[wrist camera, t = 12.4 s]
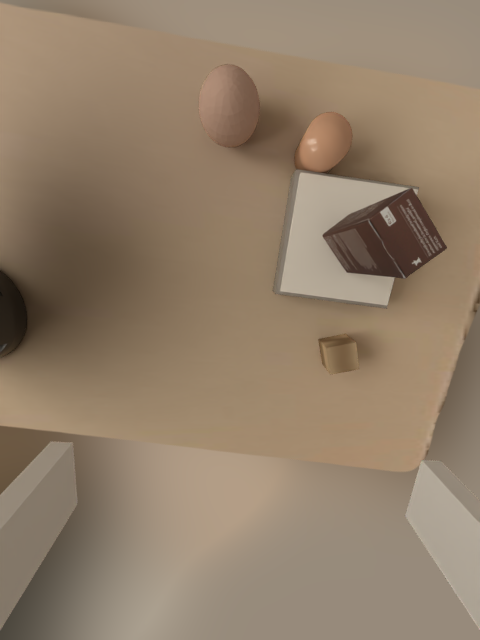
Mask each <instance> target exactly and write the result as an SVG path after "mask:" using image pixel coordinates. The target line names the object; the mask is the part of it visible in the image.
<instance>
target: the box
mask: <svg viewBox="0 0 480 640" xmlns="http://www.w3.org/2000/svg"><path fill="white" fill-rule="evenodd" d="M322 236H323V238H324V239H325V241H326V242H327V244H328V245H329V247H330V248H331V250H332V252H333V253H334V255H335V256H336V257H337V259H338V260H339V262H340V263H341V265H342V266H343V268H344V269H345V271H346V272H347V273H355V274H365V275H375V276H385V277H395V278H404V279H405V278H407V277H408V276H409V275H411V274H412V273H413V272H415V271H416V270H417V269H419V268H420V267H421V266H423V265H424V264H426V263H427V262H429V261H430V260H431V259H433V258H434V257H436V256H437V255H438V254H440V253H441V252H443V251H444V250H445V249H446V248H447V247H446V245H445V244H444V242H443V240H442V238H441V237H440V235H439V233H438V231H437V230H436V228H435V226H434V225H433V223H432V221H431V219H430V218H429V216H428V214H427V213H426V211H425V209H424V208H423V206H422V204H421V202H420V201H419V199H418V197H417V196H416V194H415V192H414V190H413V188H409V189H407V190H405V191H403V192H400V193H398V194H395V195H393V196H391V197H388V198H386V199H384V200H381V201H379V202H377V203H374V204H372V205H369V206H367V207H365V208H363V209H361V210H358V211H356V212H353V213H351V214H349V215H347V216H346V217H345V218H343V219H342V220H341V221H339V222H338V223H337V224H336V225H334V226H333V227H332V228H330V229H329V230H328V231H326V232H325V233H324V234H323V235H322Z"/></svg>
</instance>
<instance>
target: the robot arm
mask: <svg viewBox="0 0 480 640" xmlns="http://www.w3.org/2000/svg"><path fill="white" fill-rule="evenodd" d="M26 325H27V315H26V309H25V305H24V302H23V299H22V297H21V295H20V293H19V291H18V290H17V288H16V287H15V285H14V284H13V283H12V282H11V280H10V279H9V278H8V277H7V276H6V275H5V274H3V273H2V272H1V271H0V357H2V356H4V355H6V354H8V353H10V352H11V351H13V350H14V349H15V348H16V347H17V346H18V345H19V343H20V342H21V340H22V338H23V336H24V334H25V330H26ZM77 504H78V503H77V490H76V477H75V465H74V451H73V443H70V442H50V443H49V444H48V445H47V446H46V447H45V448H44V450H43V451H42V452H41V453H40V454H39V455H38V456H37V457H36V458H35V459H34V460H33V461H32V462H31V463H30V464H29V465H28V466H27V467H26V468H25V469H24V470H23V472H22V473H21V474H20V475H19V476H18V477H17V478H16V479H15V480H14V481H13V482H12V483H11V484H10V485H9V486H8V487H7V488H6V489H5V490H4V492H3V493H2V494H1V495H0V630H1V628H2V626H3V625H4V623H5V622H6V620H7V618H8V616H9V615H10V613H11V612H12V610H13V609H14V607H15V605H16V604H17V602H18V600H19V599H20V597H21V595H22V594H23V592H24V590H25V589H26V587H27V586H28V584H29V582H30V581H31V579H32V577H33V576H34V574H35V572H36V571H37V569H38V568H39V566H40V564H41V563H42V561H43V559H44V558H45V556H46V555H47V553H48V551H49V550H50V548H51V546H52V545H53V543H54V541H55V539H56V538H57V536H58V535H59V533H60V531H61V530H62V528H63V526H64V525H65V523H66V522H67V520H68V518H69V517H70V515H71V514H72V512H73V510H74V509H75V507H76V505H77ZM405 517H406V518H407V520H408V521H409V523H410V524H411V526H412V527H413V529H414V530H415V532H416V534H417V535H418V537H419V538H420V540H421V541H422V543H423V544H424V546H425V547H426V549H427V550H428V552H429V553H430V555H431V557H432V558H433V560H434V561H435V562H436V564H437V566H438V567H439V569H440V570H441V572H442V573H443V575H444V576H445V578H446V579H447V581H448V583H449V584H450V586H451V587H452V589H453V590H454V592H455V593H456V595H457V596H458V598H459V599H460V601H461V602H462V604H463V605H464V607H465V608H466V610H467V612H468V613H469V615H470V616H471V618H472V619H473V620H474V622H475V624H476V625H477V627H478V628H479V630H480V500H479V499H478V498H477V497H476V496H475V495H474V494H473V493H472V492H471V491H470V490H469V489H468V488H467V487H466V486H465V485H464V484H463V483H462V482H461V481H460V480H459V479H458V478H457V477H456V476H455V475H454V474H453V473H452V472H451V471H450V470H449V469H448V468H447V467H446V466H445V465H444V464H443V463H442V462H441V461H432V460H422V461H421V464H420V467H419V471H418V474H417V477H416V481H415V484H414V488H413V491H412V494H411V498H410V502H409V505H408V509H407V511H406V515H405Z"/></svg>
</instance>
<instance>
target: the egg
mask: <svg viewBox="0 0 480 640" xmlns="http://www.w3.org/2000/svg"><path fill="white" fill-rule="evenodd" d="M259 109H260V103H259V96H258V92H257V89H256V86H255V84H254V83H253V81H252V79H251V78H250V77H249V75H248V74H247V73H246V72H245V71H244V70H243V69H241V68H240V67H238V66H235V65H230V64H225V65H221V66H219V67H216V68H215V69H213V70H212V72H211V73H210V74H209V75H208V76H207V78H206V79H205V81H204V83H203V85H202V88H201V90H200V97H199V113H200V119H201V122H202V125H203V127H204V129H205V131H206V132H207V134H208V136H209V137H210V138H211V139H212V140H213V141H214V142H216V143H217V144H219V145H222V146H225V147H236V146H239V145H241V144H243V143H245V142H246V141H247V140H248V139H249V138H250V137H251V135H252V134H253V132H254V131H255V128H256V126H257V123H258V118H259Z"/></svg>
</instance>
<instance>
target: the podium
mask: <svg viewBox="0 0 480 640" xmlns="http://www.w3.org/2000/svg"><path fill="white" fill-rule="evenodd" d="M409 188H413V190H414V192H415V194H416V196H417V193H418V189H419V187H414V186H407V185H400V184H394V183H387V182H380V181H373V180H367V179H360V178H353V177H346V176H339V175H333V174H326V173H319V172H312V171H306V170H299V169H296V170H295V172H294V173H293V175H292V176H291V182H290V188H289V194H288V200H287V206H286V213H285V219H284V225H283V231H282V237H281V243H280V250H279V256H278V262H277V268H276V274H275V281H274V287H273V291H274V293H275V294H280V295H288V296H296V297H303V298H311V299H318V300H326V301H333V302H341V303H348V304H356V305H364V306H371V307H379V308H386V309H387V306H388V302H389V298H390V295H391V291H392V287H393V283H394V280H395V277H385V276H375V275H365V274H355V273H347V272H346V271H345V269H344V268H343V266H342V265H341V263H340V262H339V260H338V259H337V257H336V256H335V255H334V253H333V252H332V250H331V248H330V247H329V245H328V244H327V242H326V241H325V239H324V238H323V236H322V235H323V234H324V233H325V232H326V231H328V230H329V229H330V228H332V227H333V226H334V225H336V224H337V223H338V222H339V221H341V220H342V219H343V218H345V217H346V216H347V215H349V214H351V213H353V212H356V211H358V210H361V209H363V208H365V207H367V206H369V205H372V204H374V203H377V202H379V201H381V200H384V199H386V198H388V197H391V196H393V195H395V194H398V193H400V192H403V191H405V190H407V189H409Z"/></svg>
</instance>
